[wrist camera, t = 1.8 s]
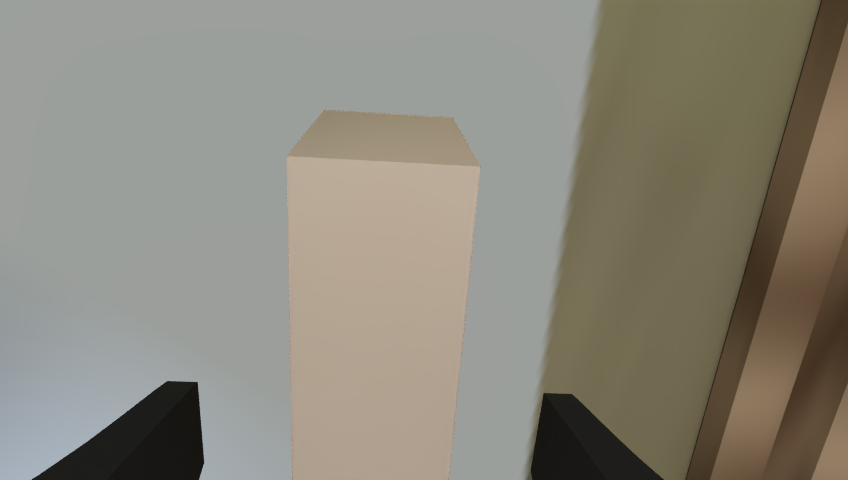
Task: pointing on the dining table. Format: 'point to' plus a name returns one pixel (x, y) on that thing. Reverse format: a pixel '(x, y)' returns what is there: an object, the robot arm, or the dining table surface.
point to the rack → (792, 298)
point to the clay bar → (378, 293)
